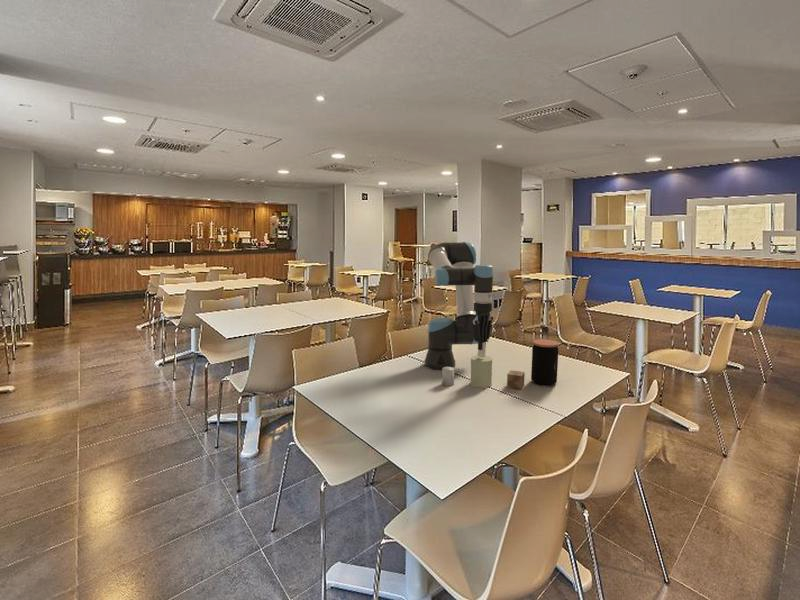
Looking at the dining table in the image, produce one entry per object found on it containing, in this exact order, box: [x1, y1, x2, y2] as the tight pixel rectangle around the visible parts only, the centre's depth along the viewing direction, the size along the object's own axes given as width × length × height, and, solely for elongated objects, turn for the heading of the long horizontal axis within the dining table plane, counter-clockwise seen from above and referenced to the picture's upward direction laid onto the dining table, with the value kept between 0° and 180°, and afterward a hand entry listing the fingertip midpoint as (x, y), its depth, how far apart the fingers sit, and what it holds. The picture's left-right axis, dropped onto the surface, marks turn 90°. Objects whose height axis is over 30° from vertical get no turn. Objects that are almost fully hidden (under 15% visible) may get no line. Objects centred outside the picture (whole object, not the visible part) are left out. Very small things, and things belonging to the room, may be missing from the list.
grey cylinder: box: [441, 367, 455, 387], centre depth 185 cm, size 5×5×7 cm
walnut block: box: [506, 369, 526, 391], centre depth 182 cm, size 6×6×6 cm
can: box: [469, 355, 493, 389], centre depth 185 cm, size 9×9×12 cm
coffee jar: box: [530, 338, 560, 387], centre depth 186 cm, size 11×11×18 cm
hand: (481, 356), depth 184 cm, fingers closed
